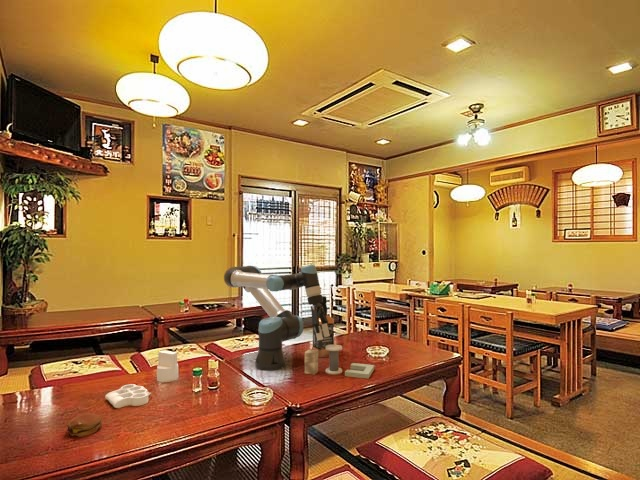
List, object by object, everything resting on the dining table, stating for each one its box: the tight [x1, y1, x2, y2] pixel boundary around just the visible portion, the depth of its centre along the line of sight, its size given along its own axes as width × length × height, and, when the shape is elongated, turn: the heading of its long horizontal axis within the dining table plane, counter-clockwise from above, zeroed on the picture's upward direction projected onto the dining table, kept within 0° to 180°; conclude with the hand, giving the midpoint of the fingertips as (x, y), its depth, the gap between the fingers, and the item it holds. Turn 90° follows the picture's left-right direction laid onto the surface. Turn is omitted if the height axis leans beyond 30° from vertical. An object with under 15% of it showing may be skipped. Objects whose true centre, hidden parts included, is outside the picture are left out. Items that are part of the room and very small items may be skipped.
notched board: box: [344, 362, 375, 380], centre depth 186 cm, size 11×14×2 cm
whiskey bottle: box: [311, 295, 335, 359], centre depth 216 cm, size 10×10×32 cm
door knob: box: [325, 344, 343, 376], centre depth 187 cm, size 8×8×12 cm
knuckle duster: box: [104, 383, 152, 409], centre depth 155 cm, size 3×18×15 cm
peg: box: [304, 349, 319, 376], centre depth 186 cm, size 5×5×10 cm
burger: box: [66, 412, 103, 438], centre depth 129 cm, size 10×9×5 cm
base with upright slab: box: [156, 350, 179, 383], centre depth 178 cm, size 9×9×12 cm
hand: (323, 338), depth 192 cm, fingers open, 13 cm apart
